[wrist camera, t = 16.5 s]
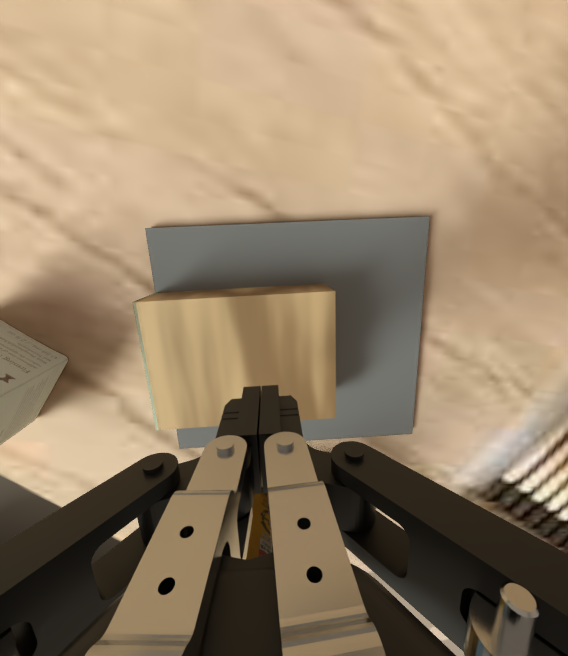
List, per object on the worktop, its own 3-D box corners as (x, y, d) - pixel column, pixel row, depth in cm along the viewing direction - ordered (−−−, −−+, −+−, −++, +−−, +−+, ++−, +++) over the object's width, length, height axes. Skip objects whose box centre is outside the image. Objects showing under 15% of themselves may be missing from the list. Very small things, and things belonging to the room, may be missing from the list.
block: (335, 290, 17) (132, 302, 17) (335, 418, 19) (156, 430, 19) (324, 283, 20) (155, 292, 20) (325, 392, 22) (173, 401, 22)
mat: (425, 217, 20) (429, 216, 19) (408, 429, 24) (412, 433, 24) (149, 228, 19) (145, 228, 19) (181, 443, 24) (179, 448, 23)
